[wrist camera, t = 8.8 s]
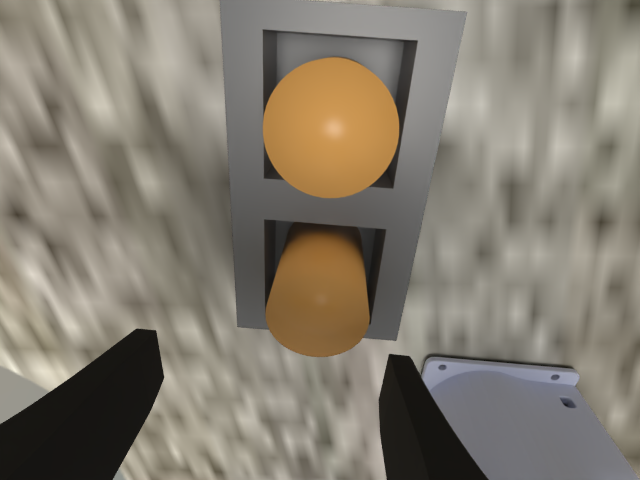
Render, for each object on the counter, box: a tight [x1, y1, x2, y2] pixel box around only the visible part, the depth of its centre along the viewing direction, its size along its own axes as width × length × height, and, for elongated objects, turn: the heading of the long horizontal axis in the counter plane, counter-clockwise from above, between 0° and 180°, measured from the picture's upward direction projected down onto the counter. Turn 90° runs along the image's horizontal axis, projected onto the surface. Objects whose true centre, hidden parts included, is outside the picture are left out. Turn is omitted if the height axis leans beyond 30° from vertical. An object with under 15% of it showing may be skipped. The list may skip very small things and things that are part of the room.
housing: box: [220, 0, 467, 357], centre depth 15 cm, size 8×14×6 cm, turn 176°
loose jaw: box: [263, 56, 399, 198], centre depth 13 cm, size 4×4×6 cm
